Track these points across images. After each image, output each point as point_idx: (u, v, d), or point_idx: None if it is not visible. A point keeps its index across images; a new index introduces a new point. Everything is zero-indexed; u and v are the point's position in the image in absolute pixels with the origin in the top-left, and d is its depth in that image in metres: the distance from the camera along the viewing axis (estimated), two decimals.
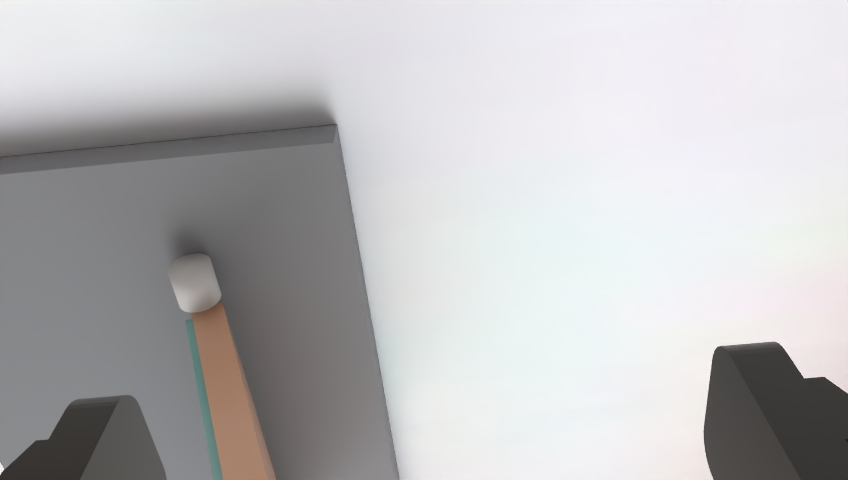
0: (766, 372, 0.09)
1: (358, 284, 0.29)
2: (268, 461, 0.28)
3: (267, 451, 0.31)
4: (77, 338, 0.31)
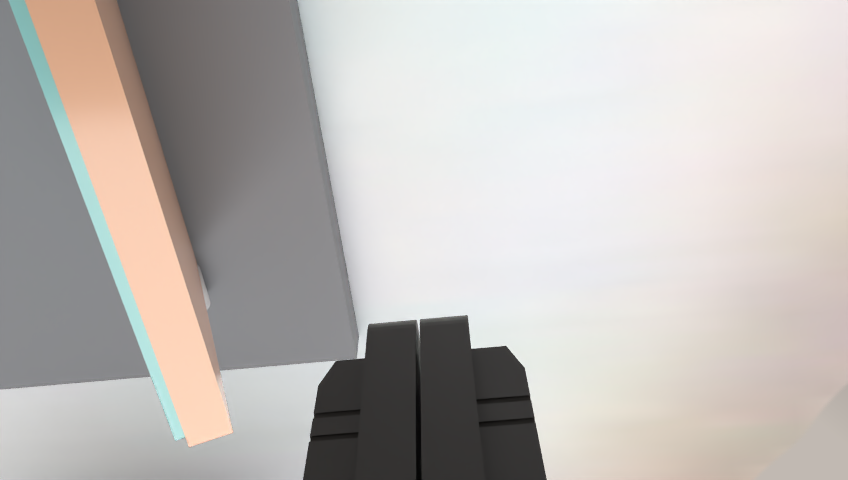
0: (442, 340, 0.10)
1: None
2: (124, 47, 0.20)
3: (141, 90, 0.23)
4: None
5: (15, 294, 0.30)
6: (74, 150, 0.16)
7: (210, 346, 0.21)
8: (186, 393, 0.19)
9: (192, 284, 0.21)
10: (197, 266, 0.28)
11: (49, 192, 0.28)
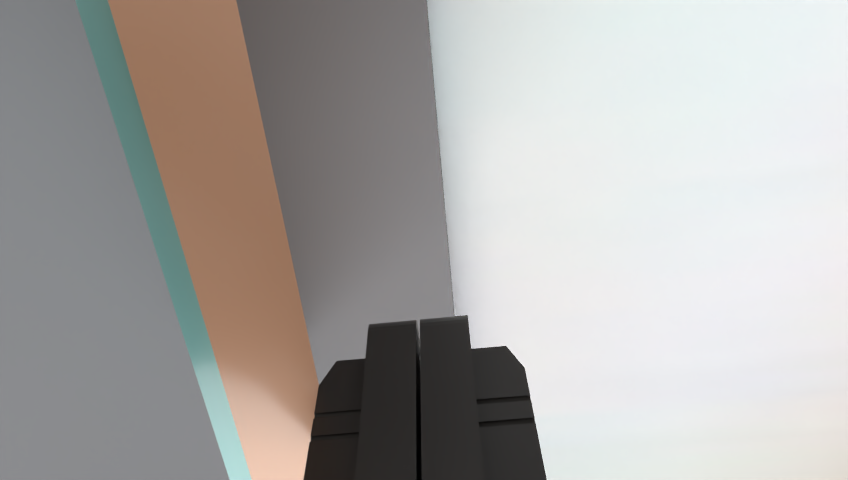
0: (442, 340, 0.10)
1: None
2: None
3: None
4: None
5: (46, 411, 0.24)
6: (200, 343, 0.10)
7: None
8: None
9: None
10: None
11: (96, 292, 0.21)
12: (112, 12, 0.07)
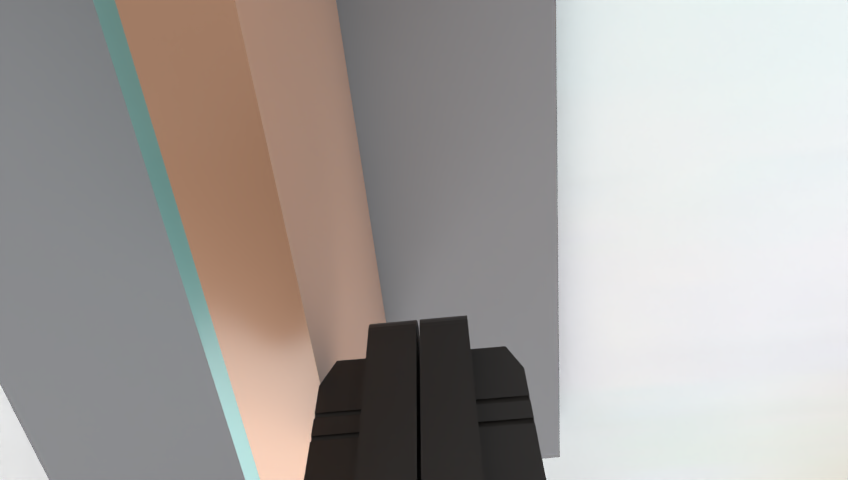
0: (442, 341, 0.10)
1: None
2: (331, 116, 0.14)
3: (352, 158, 0.17)
4: None
5: (154, 387, 0.24)
6: (208, 323, 0.10)
7: None
8: None
9: None
10: None
11: None
12: (120, 5, 0.08)
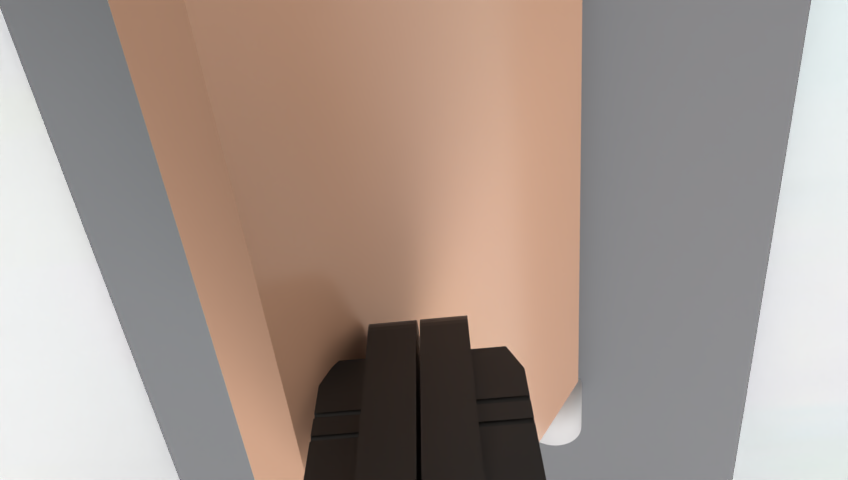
0: (442, 340, 0.10)
1: None
2: (487, 123, 0.13)
3: (546, 168, 0.16)
4: None
5: None
6: None
7: None
8: None
9: None
10: (570, 393, 0.20)
11: None
12: None
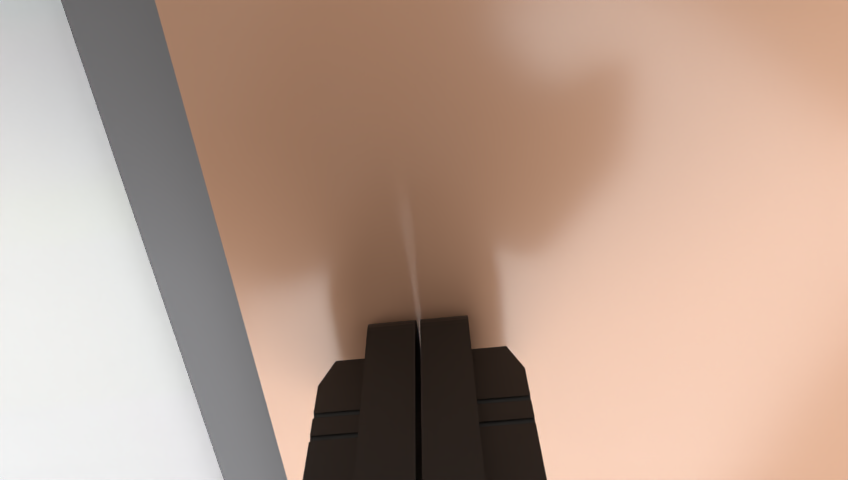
0: (442, 340, 0.10)
1: None
2: (640, 198, 0.10)
3: (794, 296, 0.11)
4: None
5: None
6: None
7: None
8: None
9: None
10: None
11: None
12: None
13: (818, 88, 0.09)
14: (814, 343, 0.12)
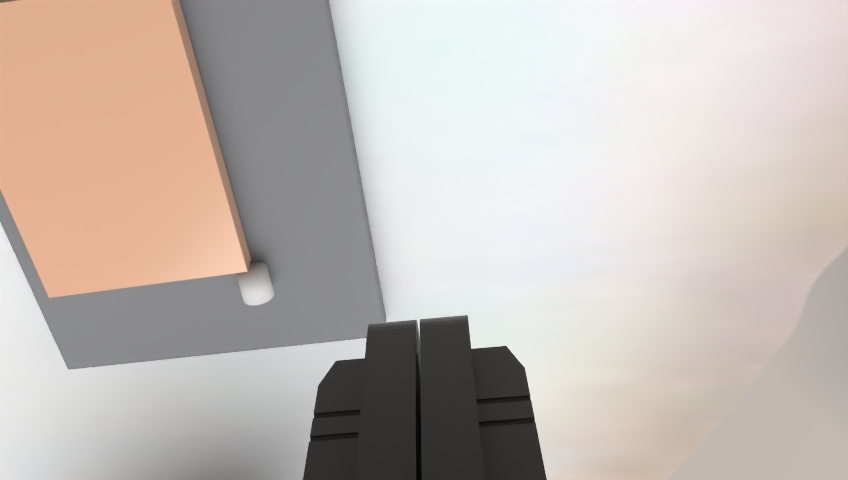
0: (442, 340, 0.10)
1: None
2: (99, 104, 0.32)
3: (167, 138, 0.33)
4: None
5: (124, 289, 0.39)
6: None
7: (77, 266, 0.36)
8: None
9: (79, 233, 0.35)
10: (236, 272, 0.37)
11: None
12: None
13: (140, 68, 0.32)
14: (183, 156, 0.34)
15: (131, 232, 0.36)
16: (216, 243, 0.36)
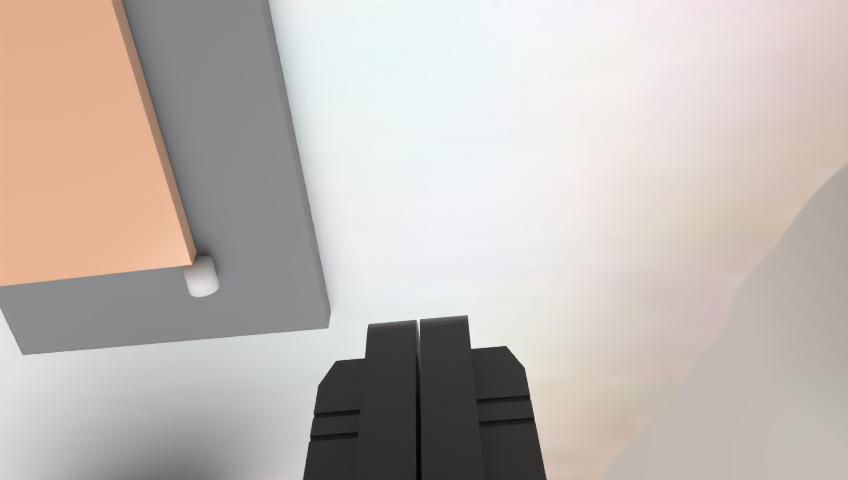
0: (442, 341, 0.10)
1: None
2: (46, 102, 0.34)
3: (112, 136, 0.35)
4: None
5: (75, 279, 0.41)
6: None
7: (27, 256, 0.38)
8: None
9: (29, 225, 0.37)
10: (181, 265, 0.39)
11: None
12: None
13: (84, 69, 0.33)
14: (128, 154, 0.35)
15: (79, 225, 0.37)
16: (161, 237, 0.38)
